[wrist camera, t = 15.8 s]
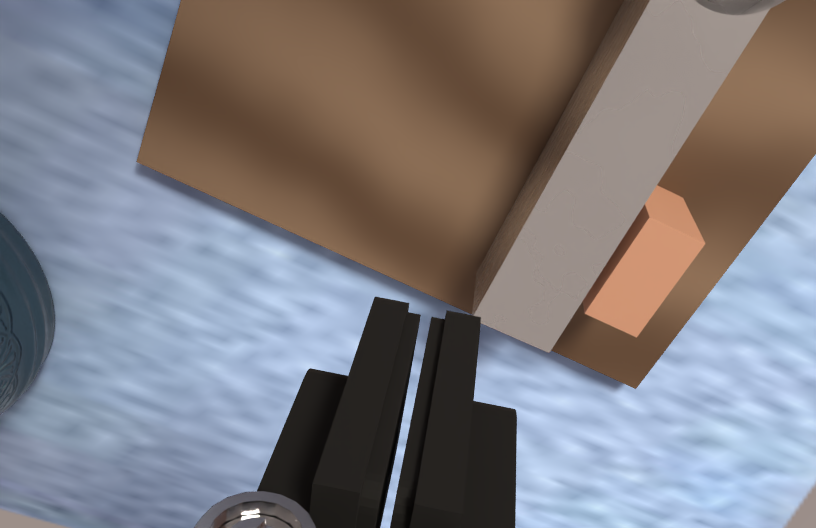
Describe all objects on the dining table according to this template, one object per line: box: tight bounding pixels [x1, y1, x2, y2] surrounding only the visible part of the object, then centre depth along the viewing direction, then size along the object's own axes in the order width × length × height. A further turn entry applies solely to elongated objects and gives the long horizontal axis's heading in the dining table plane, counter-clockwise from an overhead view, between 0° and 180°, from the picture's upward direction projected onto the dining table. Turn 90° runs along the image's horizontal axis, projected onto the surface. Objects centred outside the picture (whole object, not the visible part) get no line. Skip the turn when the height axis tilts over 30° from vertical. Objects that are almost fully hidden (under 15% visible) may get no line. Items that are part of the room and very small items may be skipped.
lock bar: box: [472, 0, 785, 353], centre depth 24 cm, size 16×4×4 cm, turn 157°
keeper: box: [583, 185, 705, 337], centre depth 26 cm, size 4×2×4 cm, turn 156°
